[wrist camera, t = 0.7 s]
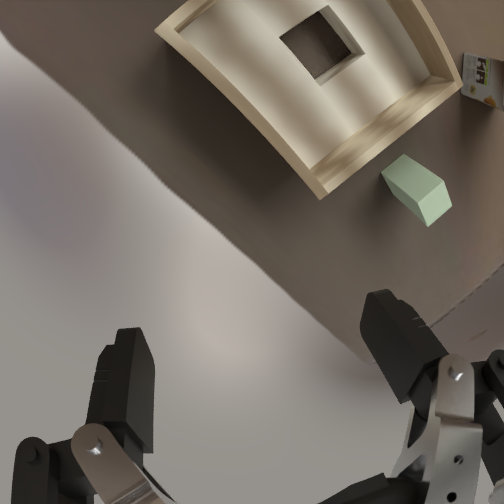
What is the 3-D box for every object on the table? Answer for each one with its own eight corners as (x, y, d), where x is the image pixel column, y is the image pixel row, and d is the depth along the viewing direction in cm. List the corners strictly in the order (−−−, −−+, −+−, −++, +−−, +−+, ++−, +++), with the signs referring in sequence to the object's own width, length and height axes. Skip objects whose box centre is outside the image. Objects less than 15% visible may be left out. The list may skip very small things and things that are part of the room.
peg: (403, 153, 32) (443, 180, 26) (414, 176, 34) (452, 205, 28) (380, 172, 33) (417, 202, 27) (393, 194, 35) (427, 226, 29)
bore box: (321, -64, 15) (349, -87, 10) (423, 75, 26) (463, 85, 20) (165, 38, 21) (153, 30, 16) (298, 172, 32) (319, 200, 26)
